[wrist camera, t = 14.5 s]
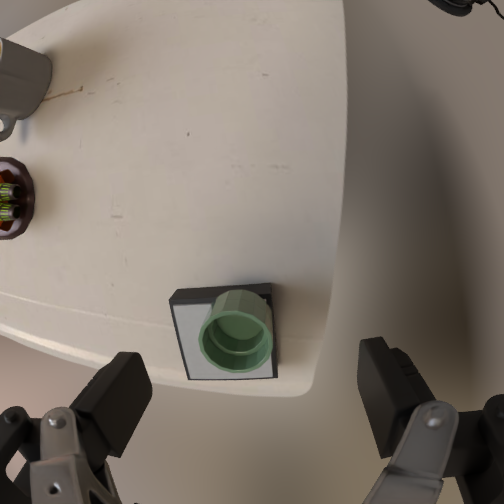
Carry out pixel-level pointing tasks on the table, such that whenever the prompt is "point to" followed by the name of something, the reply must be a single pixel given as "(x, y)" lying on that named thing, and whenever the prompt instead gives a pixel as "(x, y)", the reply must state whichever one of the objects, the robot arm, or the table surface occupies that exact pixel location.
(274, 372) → the scale
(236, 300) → the green cup
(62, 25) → the table surface
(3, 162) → the toy spacecraft
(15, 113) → the coffee mug
